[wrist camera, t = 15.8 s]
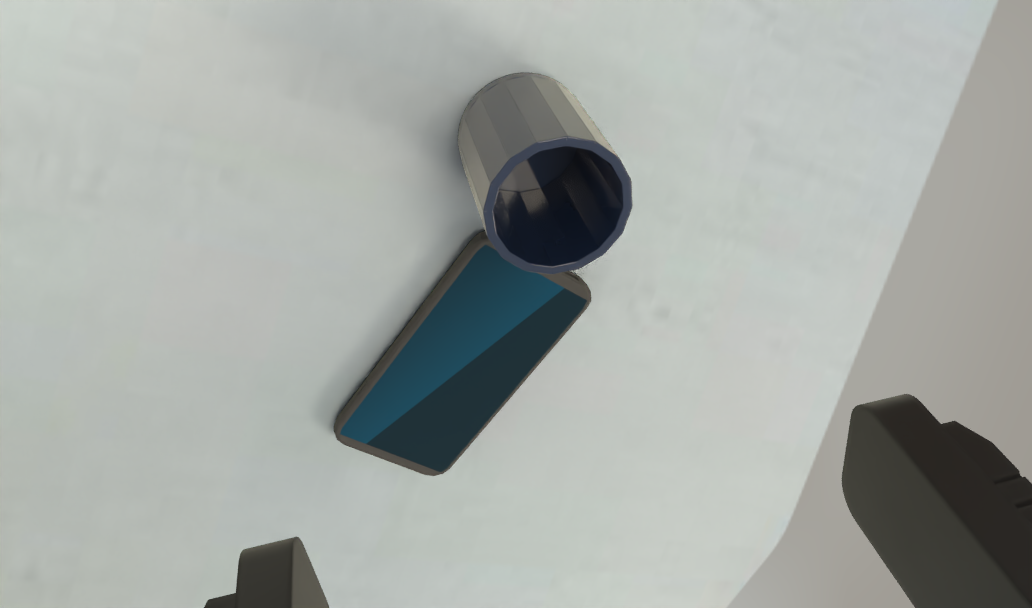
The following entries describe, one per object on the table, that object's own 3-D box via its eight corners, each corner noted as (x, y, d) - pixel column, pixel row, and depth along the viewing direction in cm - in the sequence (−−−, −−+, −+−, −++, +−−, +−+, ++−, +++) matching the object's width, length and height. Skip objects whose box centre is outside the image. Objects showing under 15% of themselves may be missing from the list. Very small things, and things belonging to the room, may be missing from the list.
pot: (578, 60, 38) (629, 123, 32) (587, 179, 41) (635, 257, 35) (447, 85, 37) (473, 154, 31) (468, 204, 41) (495, 287, 34)
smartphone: (596, 286, 45) (601, 295, 44) (438, 471, 50) (440, 482, 49) (482, 221, 41) (485, 230, 40) (325, 428, 46) (325, 439, 46)
